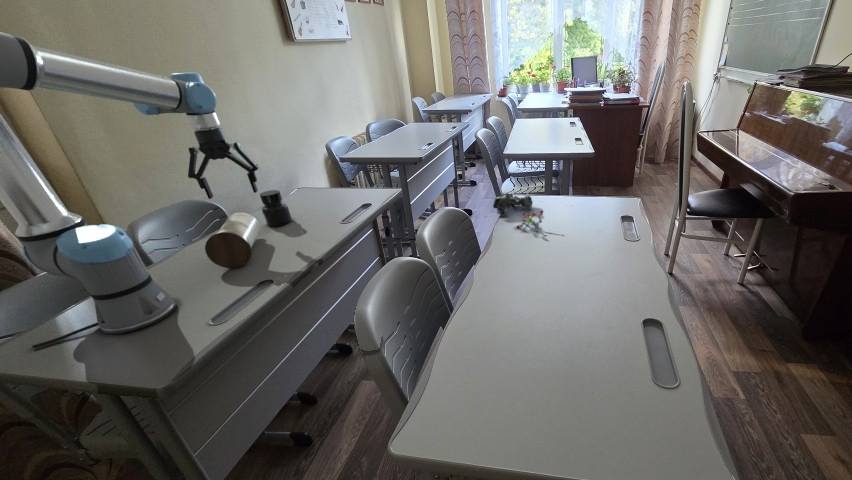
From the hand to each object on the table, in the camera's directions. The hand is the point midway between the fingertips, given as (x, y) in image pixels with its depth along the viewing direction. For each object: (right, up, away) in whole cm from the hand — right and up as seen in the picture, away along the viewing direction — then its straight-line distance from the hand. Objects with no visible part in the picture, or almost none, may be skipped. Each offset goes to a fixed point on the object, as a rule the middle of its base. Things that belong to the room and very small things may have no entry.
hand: (233, 194), depth 135 cm
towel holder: (+4, -18, 0) cm, 19 cm away
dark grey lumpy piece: (+95, -2, +20) cm, 97 cm away
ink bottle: (+4, -7, +21) cm, 22 cm away
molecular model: (+101, -11, +5) cm, 101 cm away
